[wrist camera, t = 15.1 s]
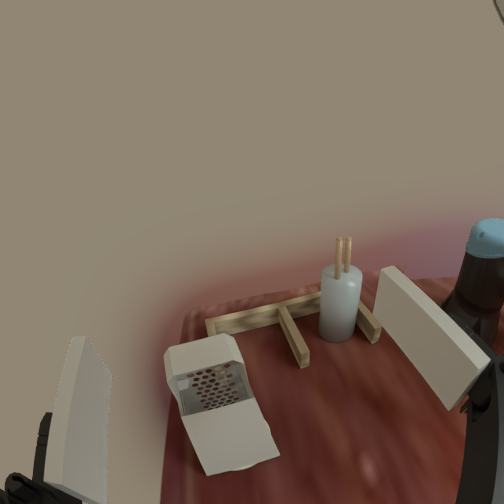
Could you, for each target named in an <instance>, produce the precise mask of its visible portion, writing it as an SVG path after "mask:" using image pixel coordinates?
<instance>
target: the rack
mask: <svg viewBox="0 0 504 504" xmlns="http://www.w3.org/2000/svg"><path fill="white" fill-rule="evenodd" d="M320 297H321V291H320V292H317V293H313V294H309V295H305V296H302V297H298V298H294V299H290V300H286V301H282V302H278V303H274V304H270V305H266V306H262V307H258V308H254V309H249V310H245V311H241V312H236V313H232V314H227V315H223V316H218V317H214V318H209V319H205V323H206V327H207V333H208V337H211V336H215V335H218V334H222V333H225V334H227V335H230V334H235V333H239V332H243V331H248V330H252V329H256V328H260V327H264V326H268V325H272V324H276V323H279V324H280V326H281V328H282V330H283V332H284V334H285V337H286V339H287V341H288V343H289V345H290V347H291V349H292V351H293V353H294V356H295V358H296V360H297V362H298V364H299V366H300V368H301V369H302V368H305V367H308V366H309V358H310V351H309V349H308V347H307V345H306V344H305V342H304V340H303V338H302V336H301V334H300V332H299V330H298V329H297V327H296V325H295V323H294V321H293V319H295V318H298V317H302V316H305V315H309V314H313V313H316V312H319V311H320ZM356 324H357V325H358V326H359V328H360V329H361V330H362V332H363V333H364V334H365V336H366V337H367V338H368V340H369V341H370V342H371V344H373V343H375V342H377V341H378V340H379V336H380V332H381V329H382V326H381V324H380V323H379V322H378V321H377V320H376V318H375V317H374V316H373V315H372V314H371V312H370V311H369V310H368V309H367V308H366V306H365V305H364V304H363V303H362V302H361V301H360V299H359V305H358V311H357V317H356ZM220 369H221V367H220V366H218V367H215V369H214V370H216V371H218V370H220ZM225 373H226V372H225V370H223V371H221V372H220V374H225ZM215 375H216V376H217V375H218V374H217V373H215ZM223 379H224V377H223V376H222V377H219V378H218V380H223ZM223 383H228V381H227V380H225V381H223ZM218 384H219V385H220V384H221V383H220V382H218ZM226 387H227V385H223V386H221V388H226Z"/></svg>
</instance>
